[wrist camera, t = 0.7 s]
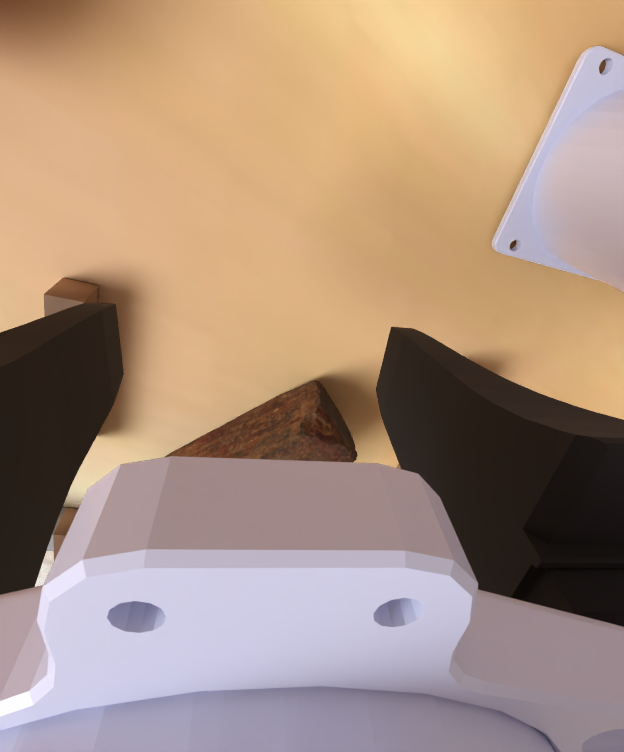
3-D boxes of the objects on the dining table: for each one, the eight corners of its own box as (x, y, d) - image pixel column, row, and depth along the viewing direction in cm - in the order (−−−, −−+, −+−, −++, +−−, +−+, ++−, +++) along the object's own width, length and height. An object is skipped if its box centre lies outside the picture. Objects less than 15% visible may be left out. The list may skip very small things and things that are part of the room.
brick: (200, 494, 27) (190, 559, 23) (159, 455, 25) (140, 519, 22) (348, 419, 25) (364, 476, 22) (315, 370, 23) (326, 424, 20)
